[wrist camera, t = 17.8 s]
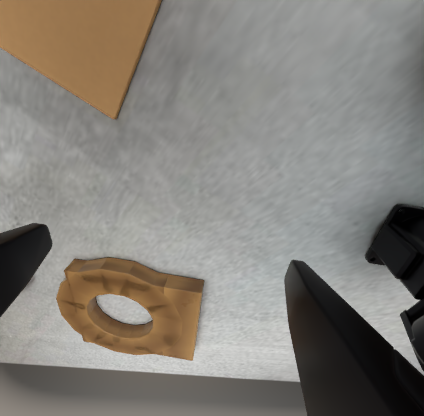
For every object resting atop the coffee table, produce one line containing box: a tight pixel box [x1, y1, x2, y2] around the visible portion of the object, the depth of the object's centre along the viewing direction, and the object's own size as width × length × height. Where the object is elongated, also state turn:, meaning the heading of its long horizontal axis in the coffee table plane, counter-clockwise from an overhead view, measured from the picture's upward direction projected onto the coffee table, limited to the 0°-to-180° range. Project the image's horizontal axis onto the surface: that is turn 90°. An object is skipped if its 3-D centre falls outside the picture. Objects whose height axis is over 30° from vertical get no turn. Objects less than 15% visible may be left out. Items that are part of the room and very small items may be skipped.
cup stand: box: [56, 257, 204, 361], centre depth 30 cm, size 18×16×2 cm
